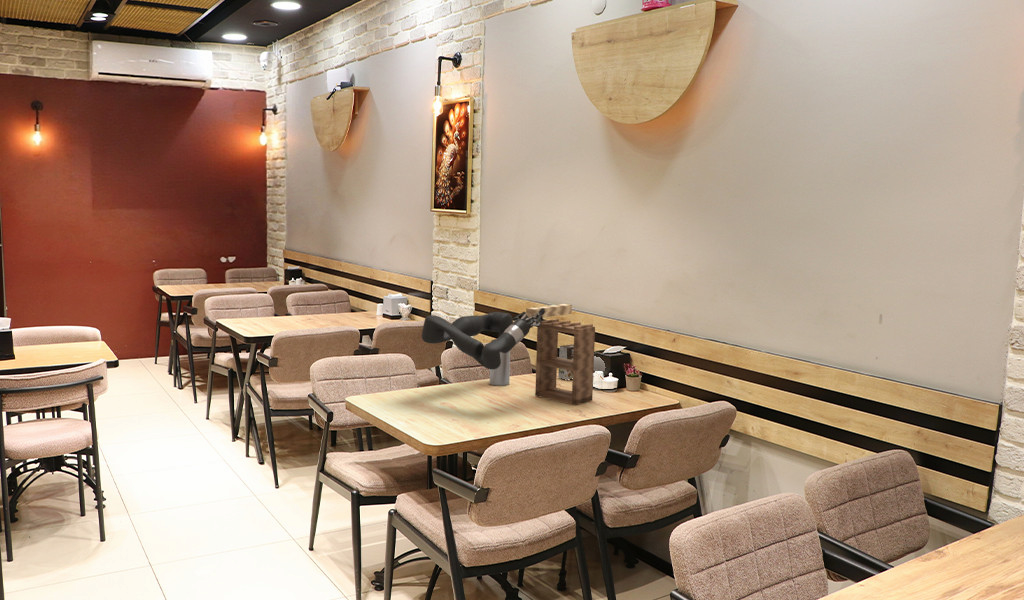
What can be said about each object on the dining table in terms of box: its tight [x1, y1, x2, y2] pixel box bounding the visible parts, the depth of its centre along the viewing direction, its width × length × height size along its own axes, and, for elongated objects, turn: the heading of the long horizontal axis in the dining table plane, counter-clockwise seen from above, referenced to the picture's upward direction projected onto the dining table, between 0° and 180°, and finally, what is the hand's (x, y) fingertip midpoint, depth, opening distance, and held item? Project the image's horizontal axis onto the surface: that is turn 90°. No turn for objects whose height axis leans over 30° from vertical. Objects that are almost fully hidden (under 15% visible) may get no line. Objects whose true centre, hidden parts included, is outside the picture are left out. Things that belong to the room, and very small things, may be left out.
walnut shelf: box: [534, 318, 596, 406], centre depth 342 cm, size 12×22×33 cm, turn 48°
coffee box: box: [557, 343, 574, 381], centre depth 380 cm, size 9×6×16 cm
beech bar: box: [525, 303, 573, 320], centre depth 340 cm, size 26×4×4 cm, turn 138°
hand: (539, 309), depth 334 cm, fingers closed on beech bar, 4 cm apart
